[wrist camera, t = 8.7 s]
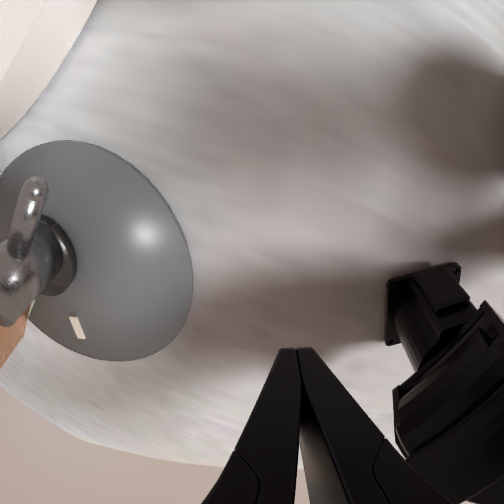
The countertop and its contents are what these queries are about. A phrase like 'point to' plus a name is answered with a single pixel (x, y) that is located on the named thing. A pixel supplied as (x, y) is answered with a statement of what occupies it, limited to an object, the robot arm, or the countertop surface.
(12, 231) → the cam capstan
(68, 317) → the dial plate
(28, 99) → the ring with crossbar
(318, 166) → the countertop surface
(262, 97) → the countertop surface
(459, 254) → the countertop surface
